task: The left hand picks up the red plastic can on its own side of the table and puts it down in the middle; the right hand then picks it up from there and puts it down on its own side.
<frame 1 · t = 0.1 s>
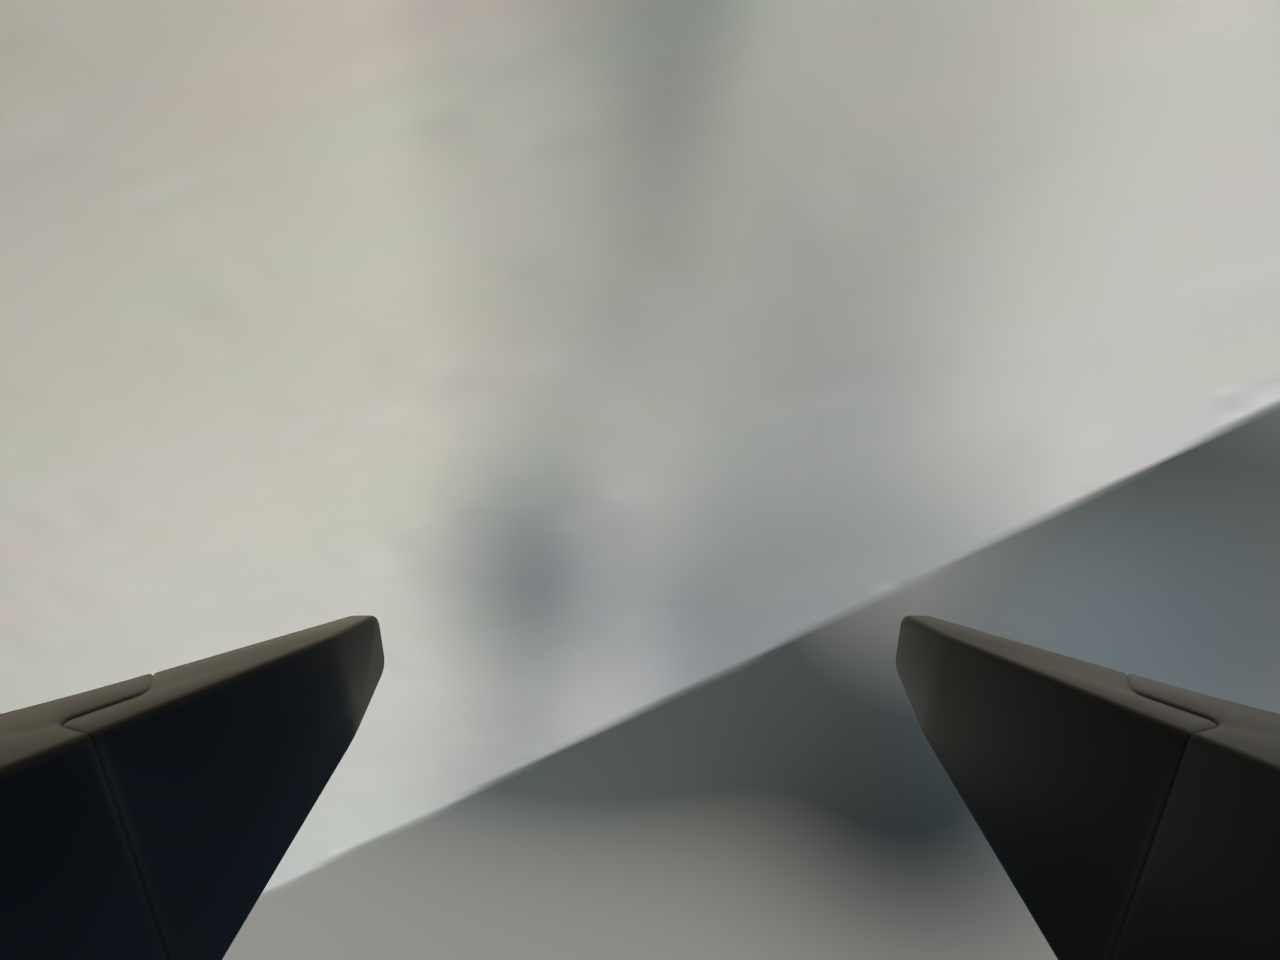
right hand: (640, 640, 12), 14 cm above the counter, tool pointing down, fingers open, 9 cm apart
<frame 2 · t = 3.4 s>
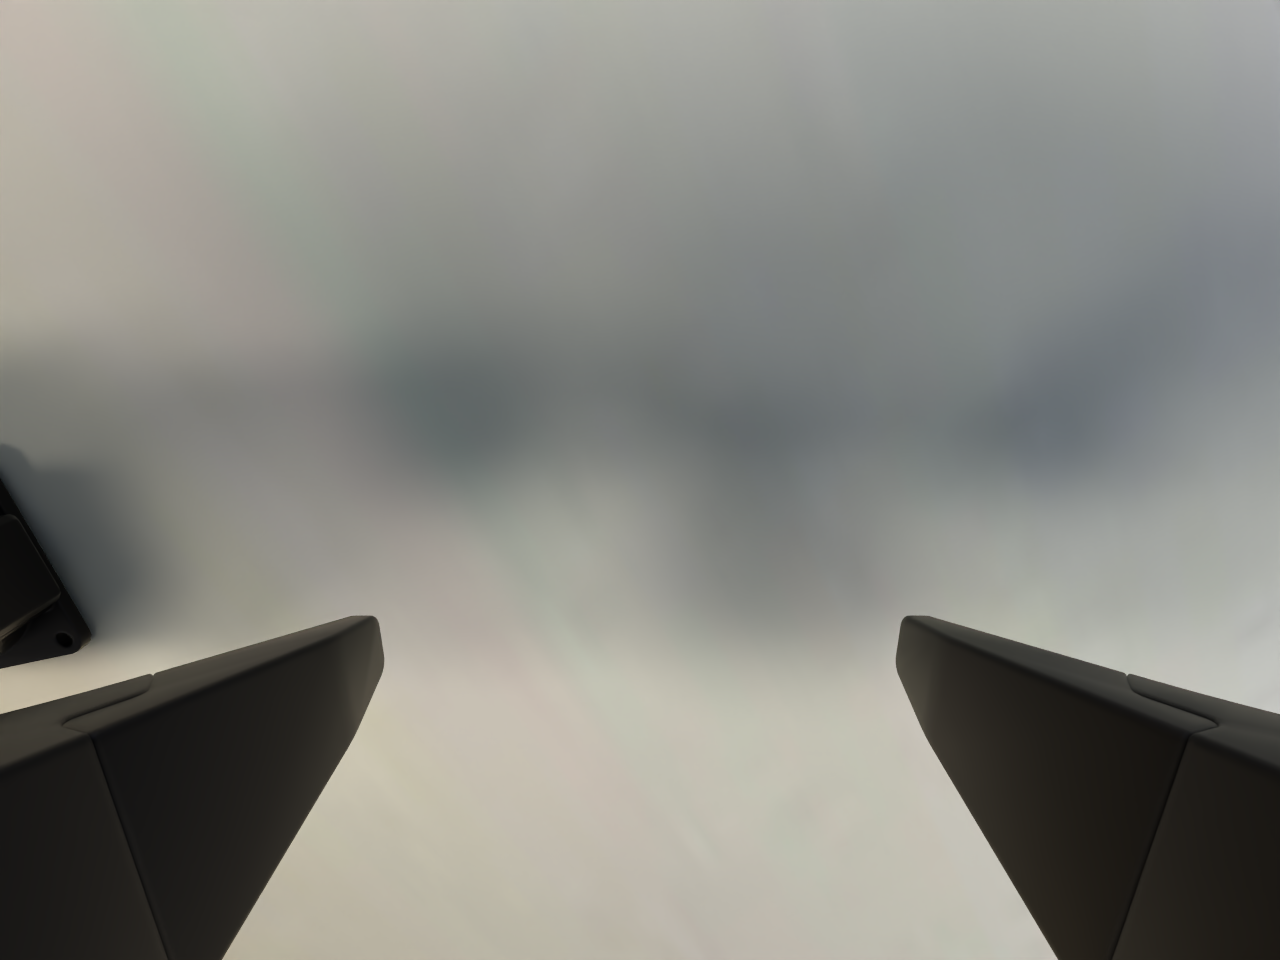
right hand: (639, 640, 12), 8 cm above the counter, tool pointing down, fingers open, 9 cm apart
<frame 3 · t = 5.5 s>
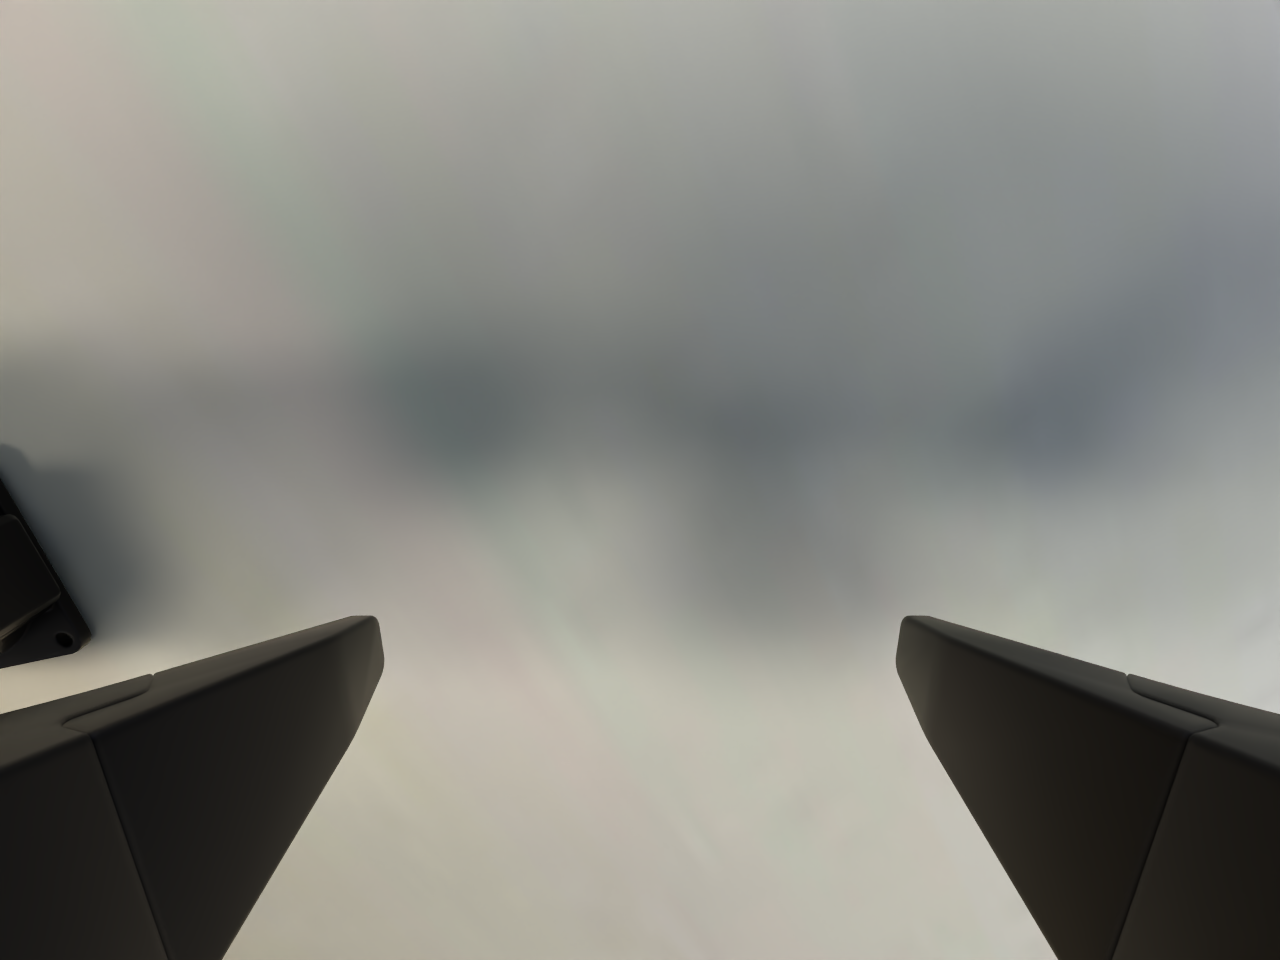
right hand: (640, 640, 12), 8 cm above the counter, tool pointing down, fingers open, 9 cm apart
when the left hand's fingers open (1 cm above the counter, at t = 7.6 s): can stays where it is, on the counter.
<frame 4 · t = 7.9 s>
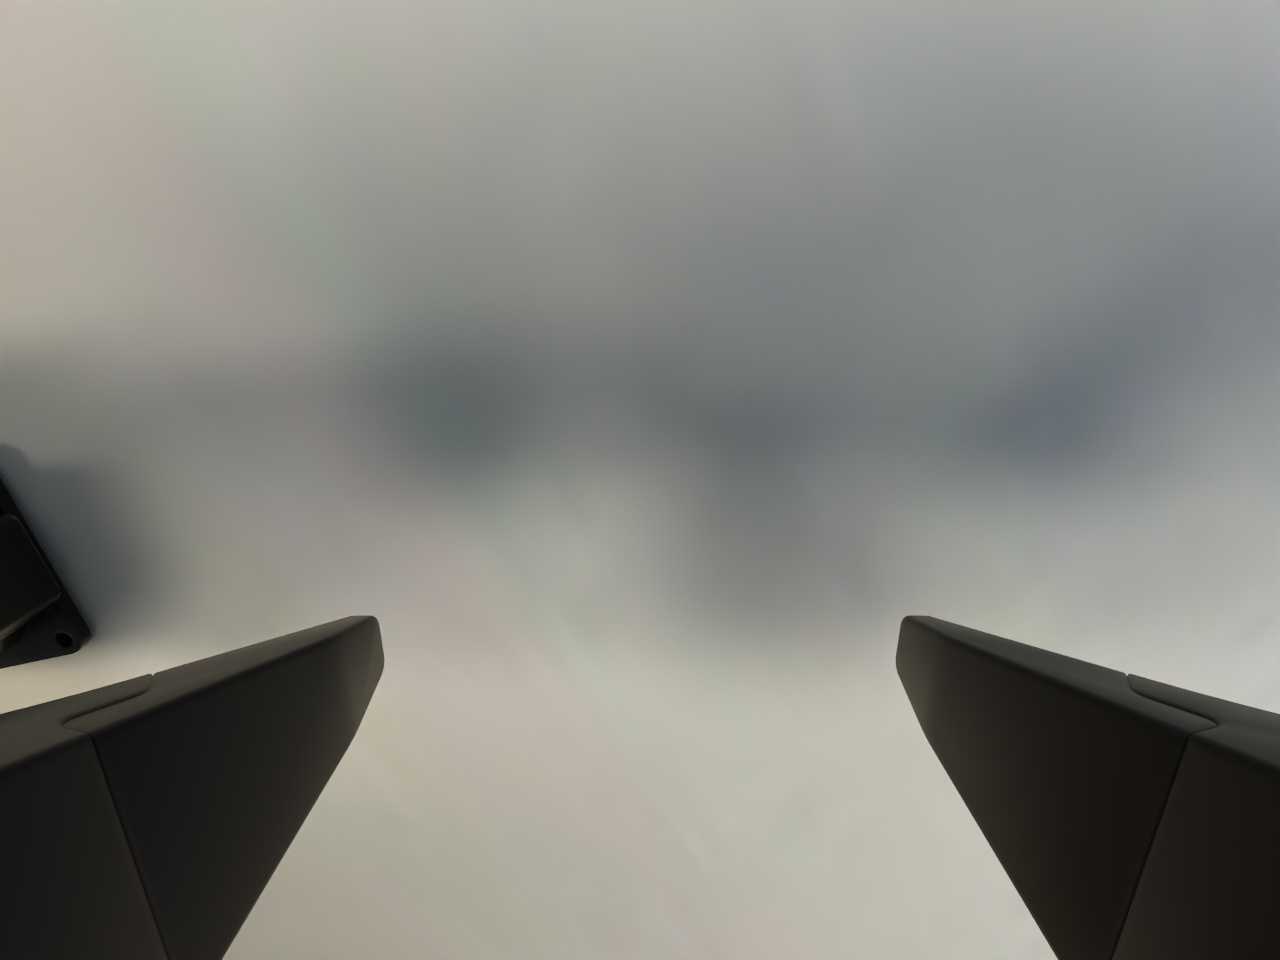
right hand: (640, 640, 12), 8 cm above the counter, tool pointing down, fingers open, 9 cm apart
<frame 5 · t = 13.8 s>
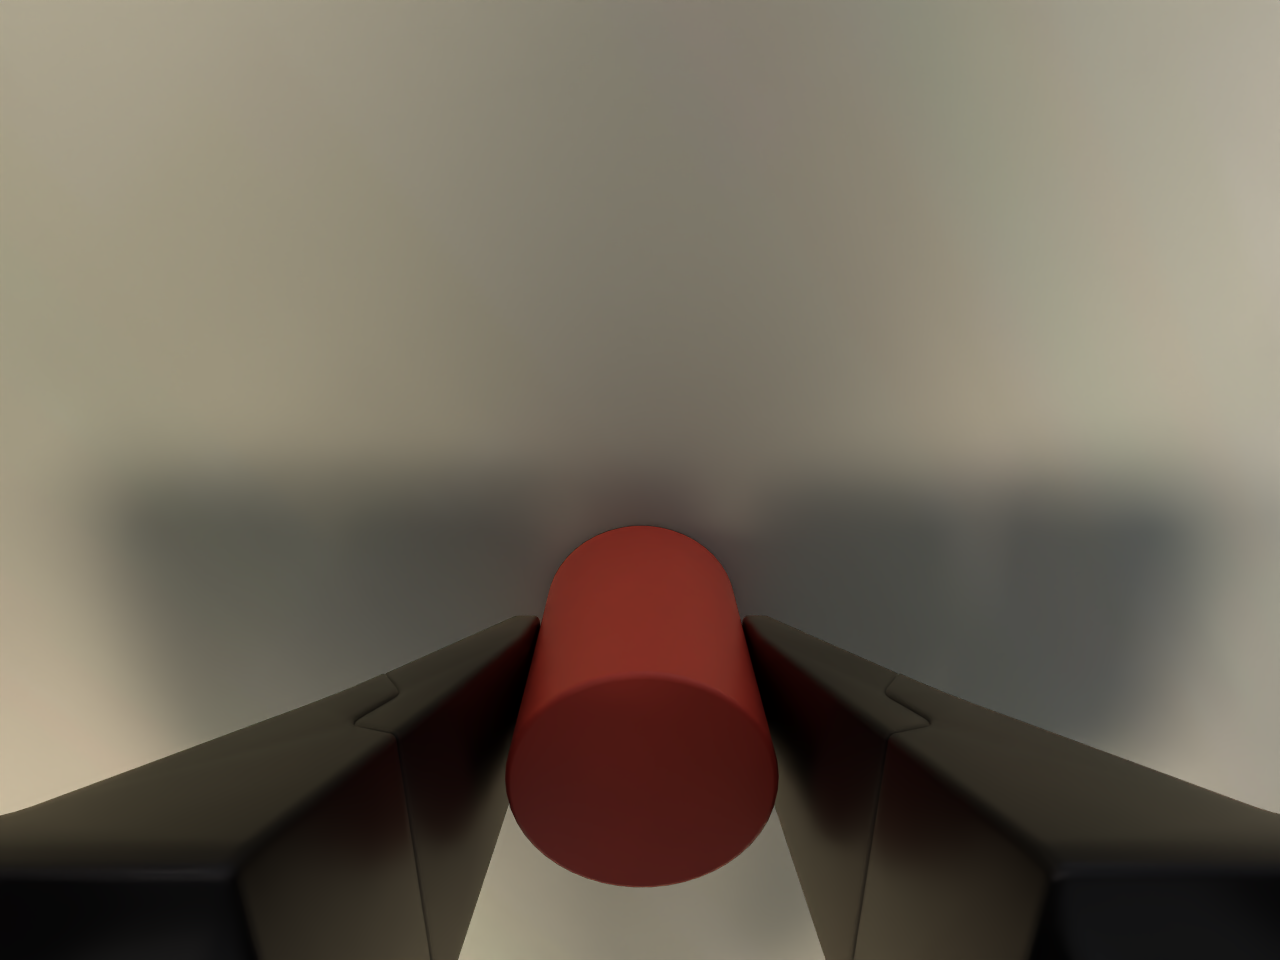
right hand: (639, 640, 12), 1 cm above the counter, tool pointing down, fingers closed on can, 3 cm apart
can: (641, 609, 13), on the counter, touching right hand
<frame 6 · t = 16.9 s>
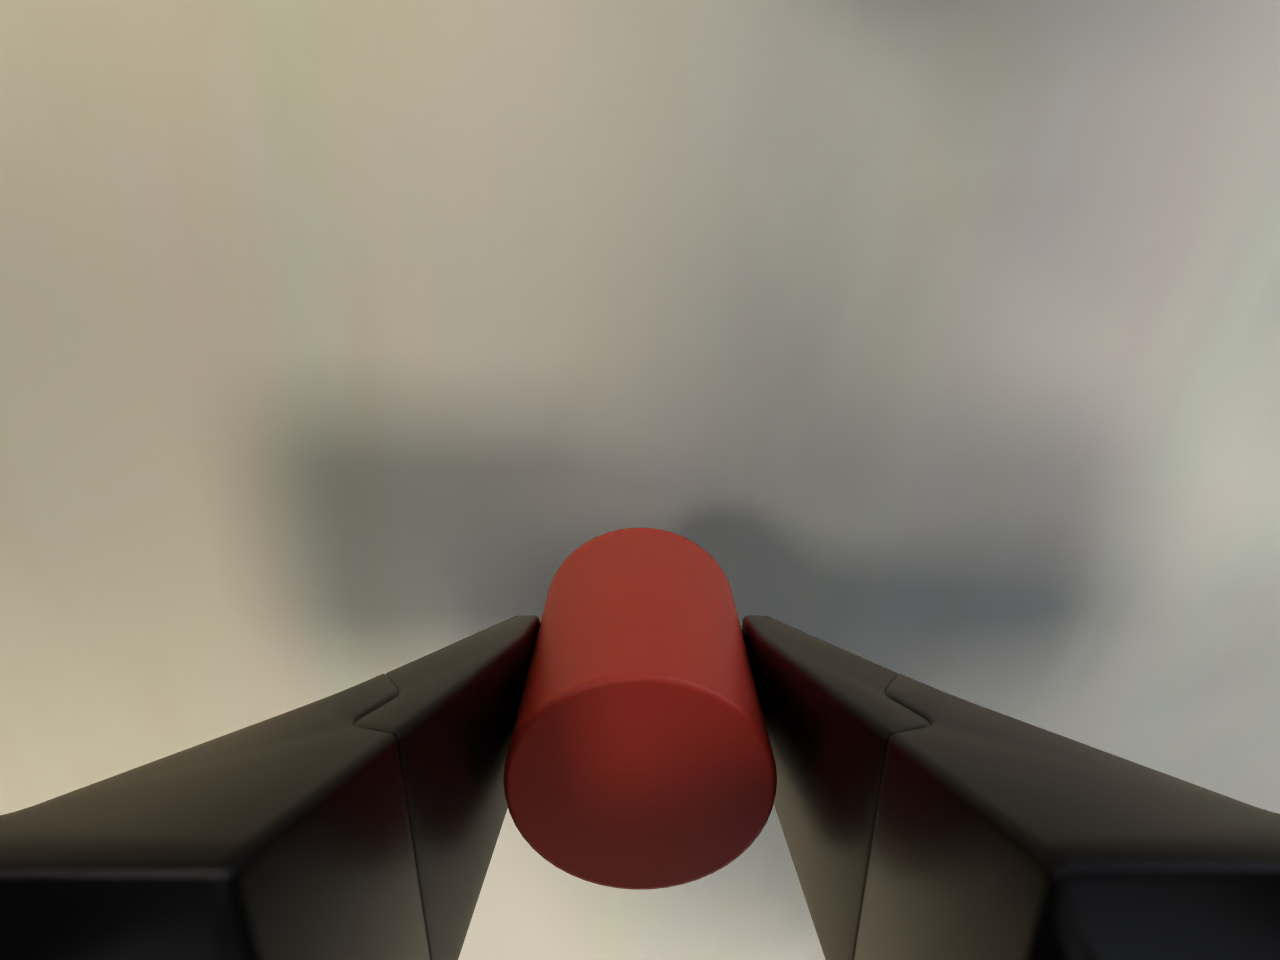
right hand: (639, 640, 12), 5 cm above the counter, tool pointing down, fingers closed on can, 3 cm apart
can: (640, 611, 13), point 4 cm above the counter, touching right hand
when the right hand's fingers open (2 cm above the counter, at t = 20.1 s): can stays where it is, on the counter.
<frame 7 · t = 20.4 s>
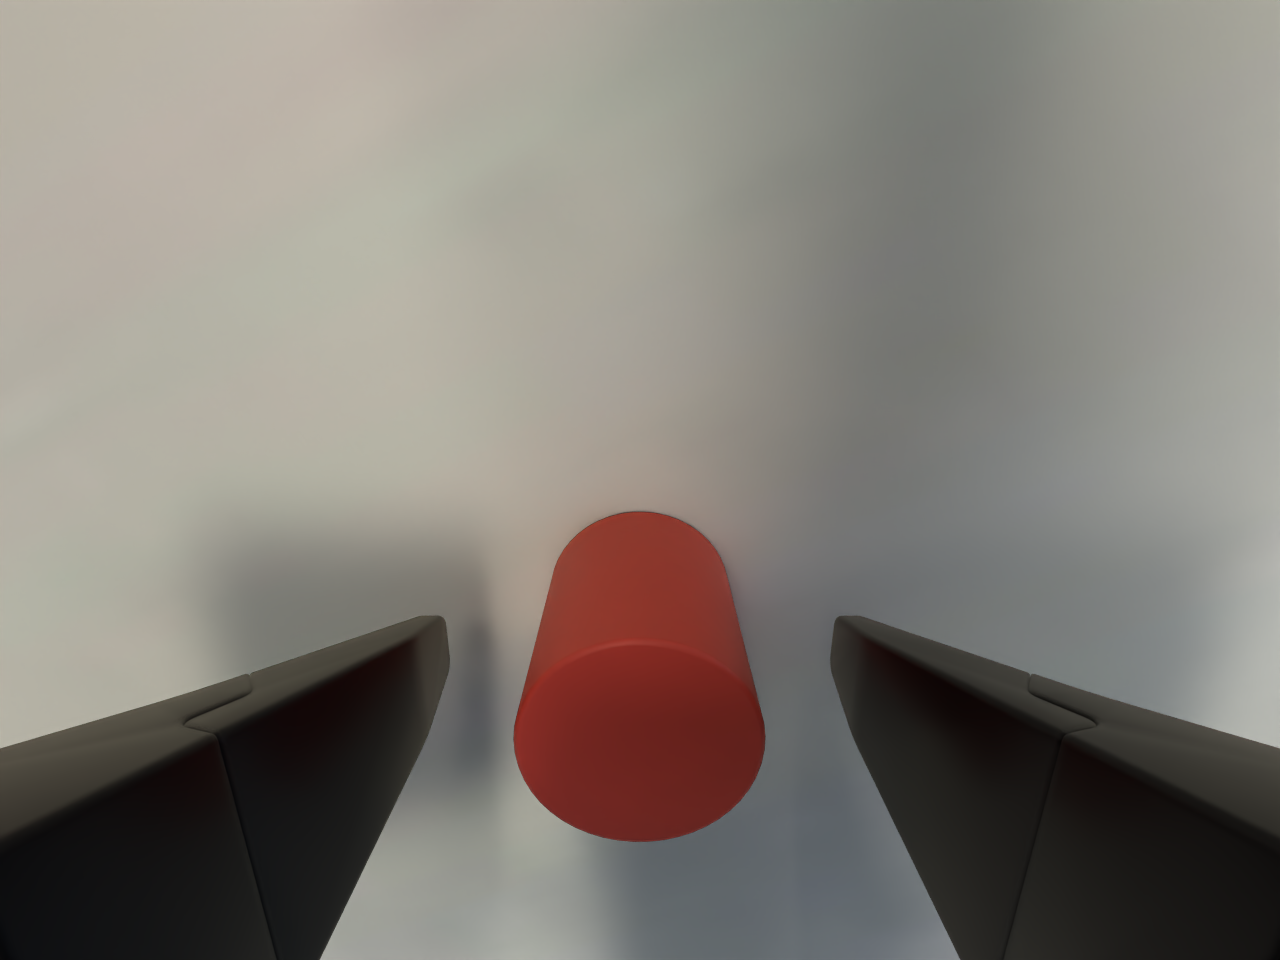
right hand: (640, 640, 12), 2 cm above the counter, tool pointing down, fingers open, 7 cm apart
can: (639, 591, 13), on the counter
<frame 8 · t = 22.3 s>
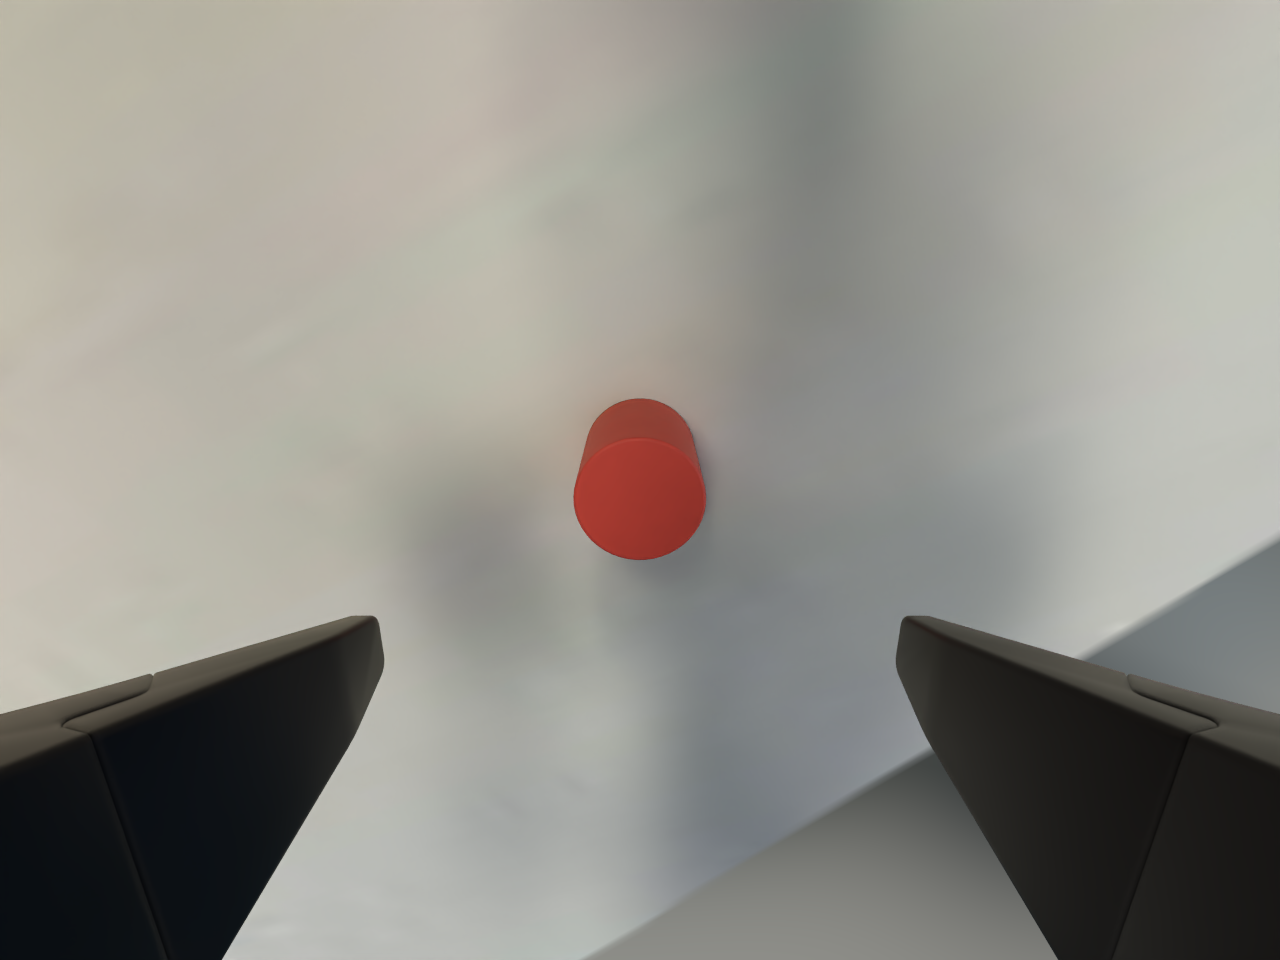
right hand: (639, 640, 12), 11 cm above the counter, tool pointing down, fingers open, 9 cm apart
can: (639, 450, 22), on the counter
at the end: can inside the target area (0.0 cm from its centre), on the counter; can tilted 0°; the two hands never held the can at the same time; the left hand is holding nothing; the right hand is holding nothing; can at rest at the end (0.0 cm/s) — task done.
